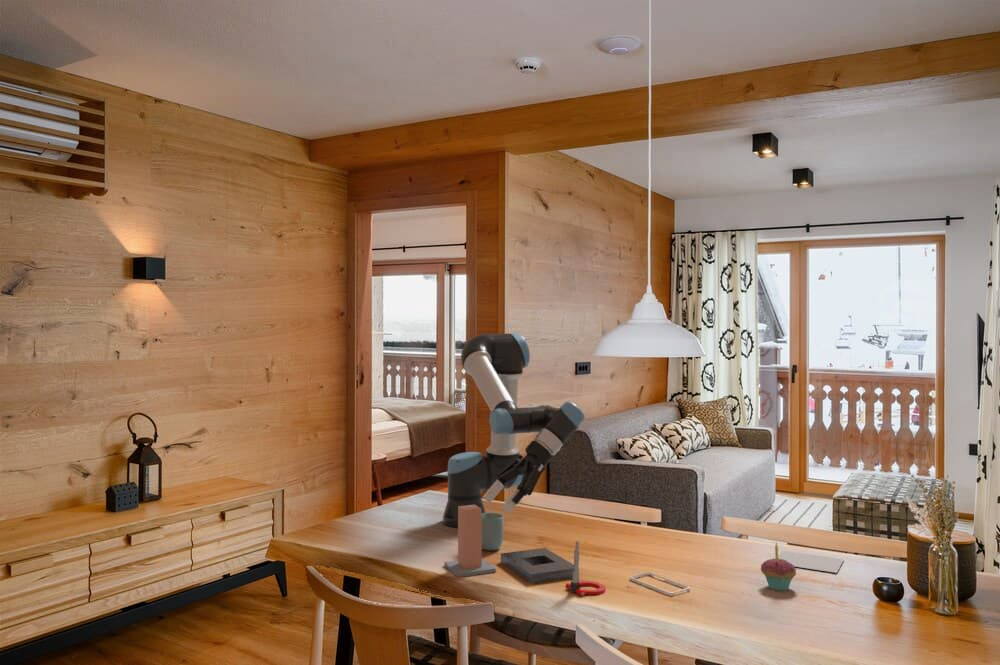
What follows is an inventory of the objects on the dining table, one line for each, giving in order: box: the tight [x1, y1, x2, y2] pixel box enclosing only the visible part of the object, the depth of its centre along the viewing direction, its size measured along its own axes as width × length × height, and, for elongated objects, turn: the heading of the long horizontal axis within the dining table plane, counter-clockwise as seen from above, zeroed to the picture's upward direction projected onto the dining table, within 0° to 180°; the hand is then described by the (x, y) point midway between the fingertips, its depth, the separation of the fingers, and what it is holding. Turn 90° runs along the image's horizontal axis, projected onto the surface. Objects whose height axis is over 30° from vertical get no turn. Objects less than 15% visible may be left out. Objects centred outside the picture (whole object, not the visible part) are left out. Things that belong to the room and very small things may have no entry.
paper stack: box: [778, 550, 845, 574], centre depth 216 cm, size 23×25×1 cm
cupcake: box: [760, 542, 797, 591], centre depth 194 cm, size 9×8×12 cm
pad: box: [443, 558, 497, 578], centre depth 209 cm, size 11×11×1 cm
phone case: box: [629, 571, 691, 597], centre depth 196 cm, size 7×1×15 cm
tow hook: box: [564, 540, 606, 597], centre depth 193 cm, size 8×13×9 cm
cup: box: [482, 512, 505, 552], centre depth 228 cm, size 8×8×10 cm
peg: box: [457, 505, 483, 569], centre depth 209 cm, size 5×5×16 cm
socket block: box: [500, 547, 580, 584], centre depth 209 cm, size 20×14×2 cm
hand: (495, 505), depth 212 cm, fingers open, 13 cm apart
